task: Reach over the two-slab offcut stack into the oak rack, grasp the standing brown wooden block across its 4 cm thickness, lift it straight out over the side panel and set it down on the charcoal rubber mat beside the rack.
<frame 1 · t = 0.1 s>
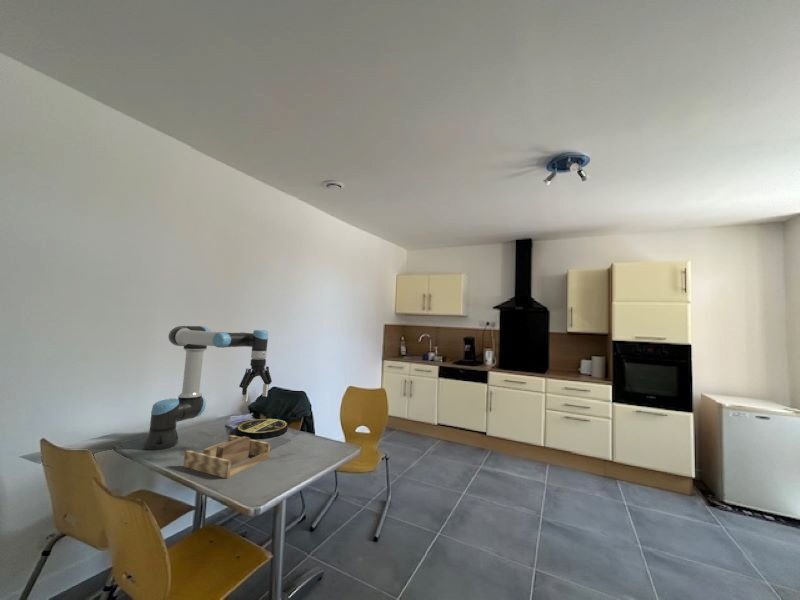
hand: (255, 398, 169), 28 cm above the table, fingers open, 13 cm apart
mat: (272, 444, 179), on the table
brown wooden block: (232, 463, 154), resting in rack
rack: (229, 461, 154), on the table
sign: (262, 432, 200), on the table
slab long: (213, 459, 158), on the table
slab short: (217, 452, 159), point 2 cm above the table
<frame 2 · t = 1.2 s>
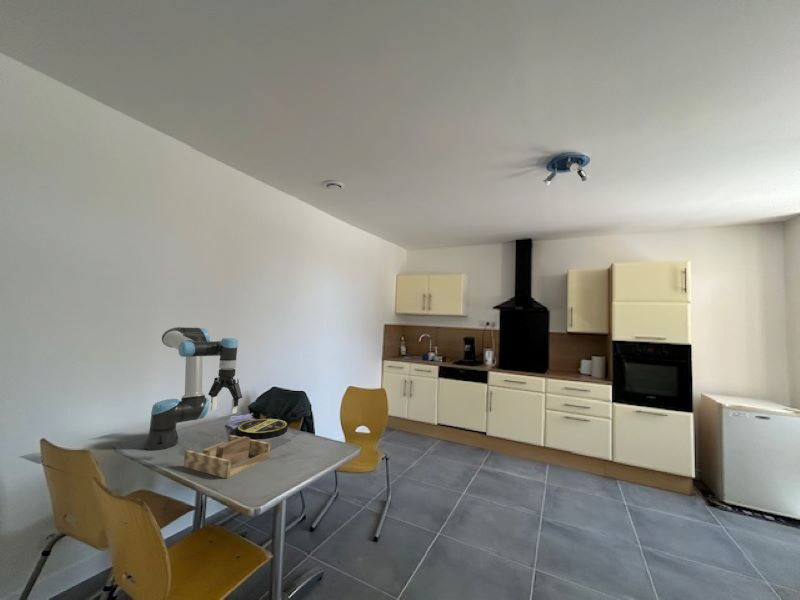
hand: (223, 411, 158), 23 cm above the table, fingers open, 13 cm apart
slab long: (213, 459, 158), on the table, touching slab short
slab short: (216, 452, 159), point 2 cm above the table, touching slab long
everything else where it was.
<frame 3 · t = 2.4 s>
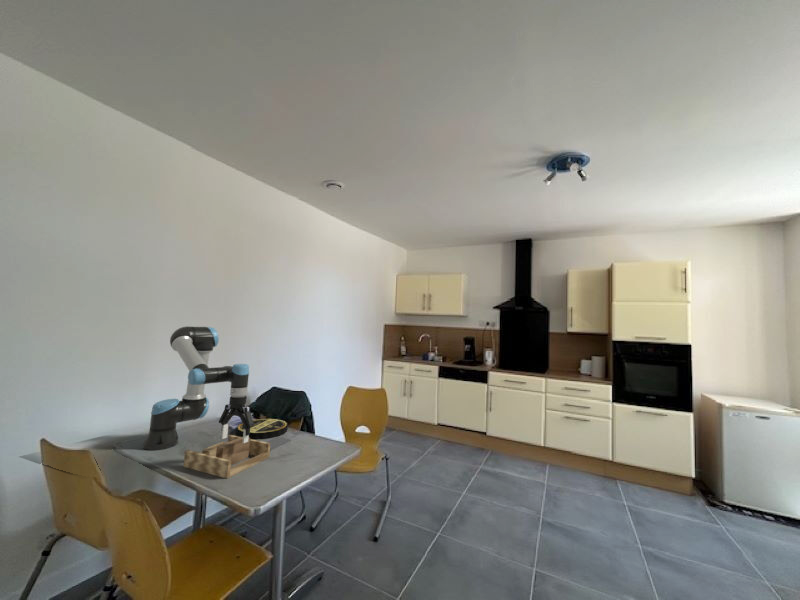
hand: (234, 440, 154), 11 cm above the table, fingers open, 13 cm apart
slab long: (213, 459, 158), on the table
slab short: (215, 452, 159), point 2 cm above the table
everything else where it was.
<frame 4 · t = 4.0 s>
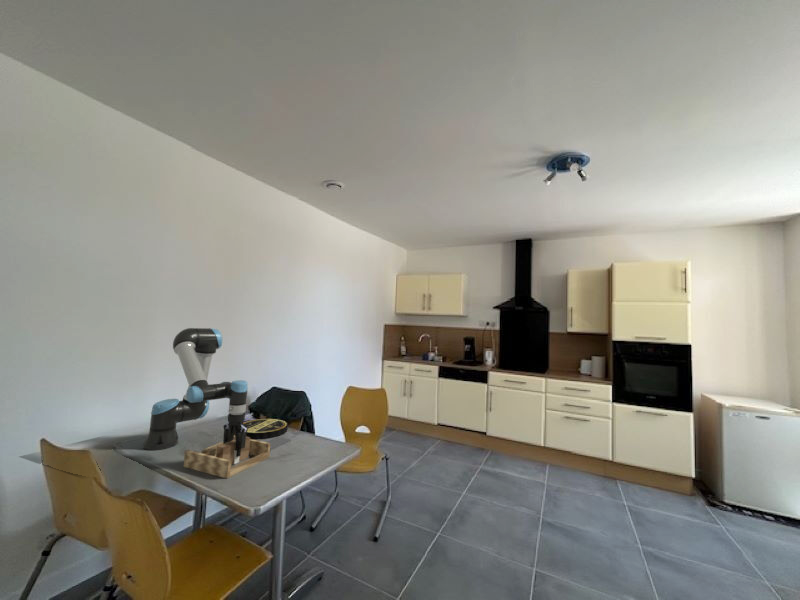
hand: (232, 462, 154), 0 cm above the table, fingers closed on brown wooden block, 4 cm apart
brown wooden block: (232, 462, 154), resting in rack, touching gripper
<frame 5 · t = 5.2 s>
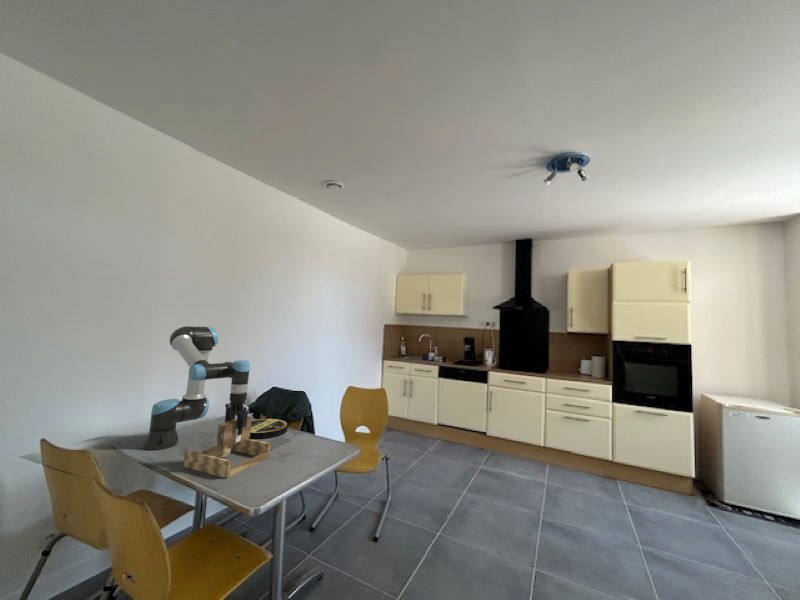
hand: (233, 440, 155), 10 cm above the table, fingers closed on brown wooden block, 4 cm apart
brown wooden block: (233, 441, 155), point 10 cm above the table, touching gripper
slab long: (213, 459, 157), on the table, touching slab short
slab short: (214, 453, 158), point 2 cm above the table, touching slab long
everything else where it was.
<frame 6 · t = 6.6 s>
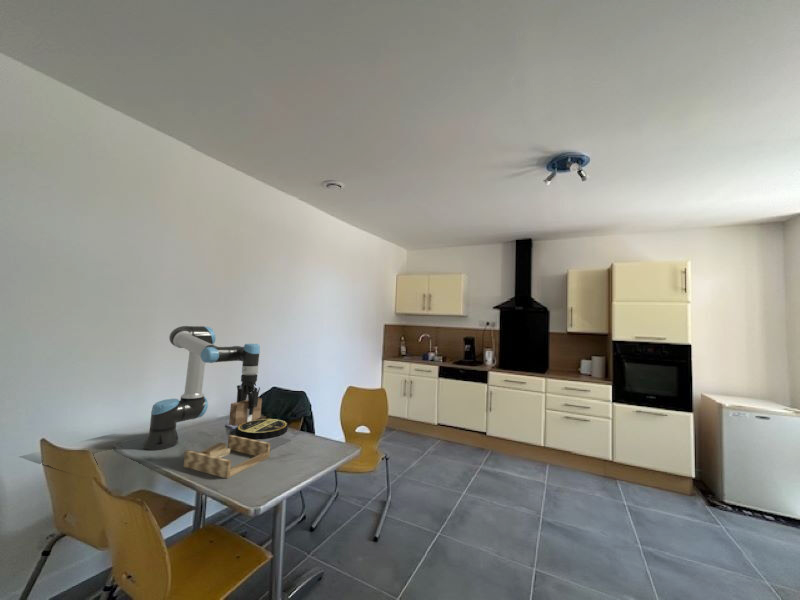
hand: (245, 420, 161), 19 cm above the table, fingers closed on brown wooden block, 4 cm apart
brown wooden block: (245, 421, 161), point 18 cm above the table, touching gripper
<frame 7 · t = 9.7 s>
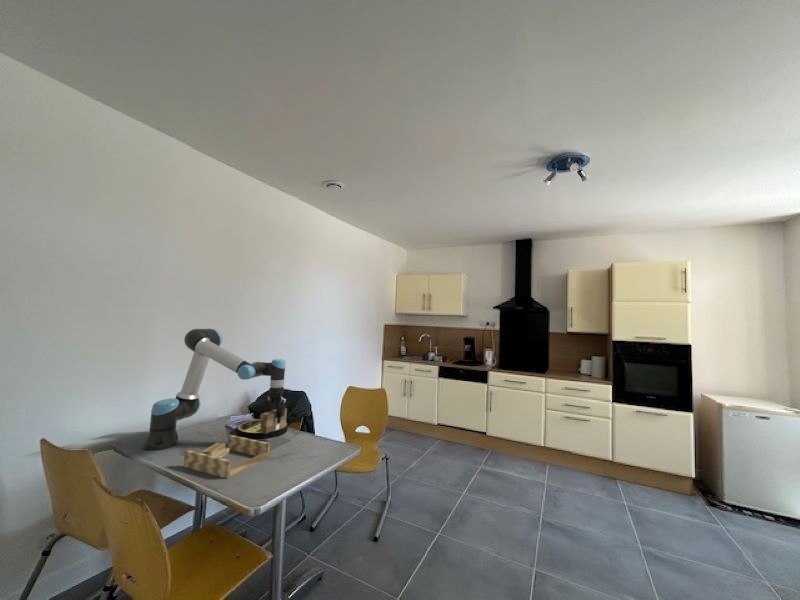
hand: (273, 428, 180), 9 cm above the table, fingers closed on brown wooden block, 4 cm apart
brown wooden block: (273, 429, 180), point 9 cm above the table, touching gripper
everything else where it was.
when the fingers open (2 cm above the table, at t = 11.3 s): brown wooden block stays where it is, resting on mat.
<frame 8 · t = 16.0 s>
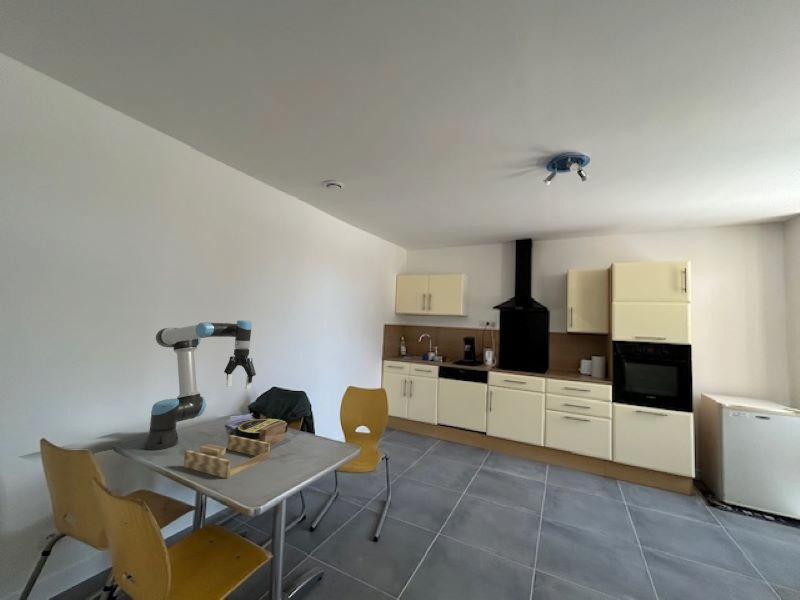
hand: (238, 387, 172), 33 cm above the table, fingers open, 13 cm apart
brown wooden block: (272, 443, 179), point 1 cm above the table, touching mat
at the end: brown wooden block inside the target area on the mat (0.1 cm from its centre), point 0.6 cm above the mat's base; the gripper is holding nothing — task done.
